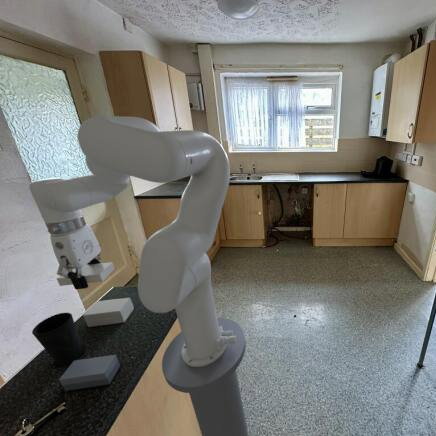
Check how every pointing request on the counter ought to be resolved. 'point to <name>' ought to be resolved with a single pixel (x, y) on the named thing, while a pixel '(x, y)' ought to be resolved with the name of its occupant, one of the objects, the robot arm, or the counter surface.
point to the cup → (59, 338)
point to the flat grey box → (90, 273)
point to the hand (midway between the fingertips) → (90, 280)
